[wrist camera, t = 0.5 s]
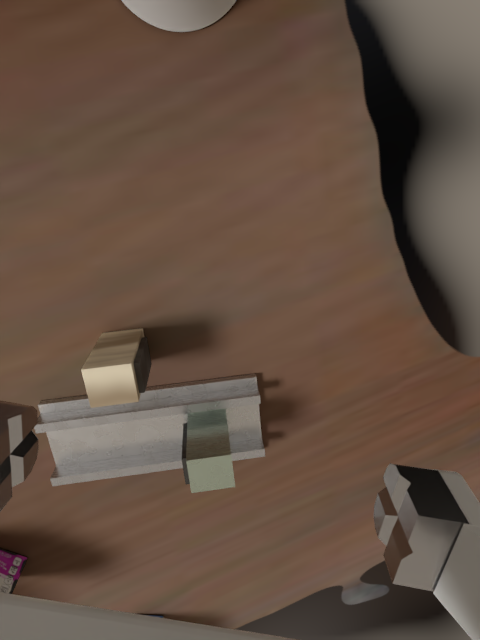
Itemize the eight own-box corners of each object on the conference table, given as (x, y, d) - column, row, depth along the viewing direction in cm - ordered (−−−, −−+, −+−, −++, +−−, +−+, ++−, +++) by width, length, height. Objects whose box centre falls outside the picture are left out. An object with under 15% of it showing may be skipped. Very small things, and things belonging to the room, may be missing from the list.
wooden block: (102, 332, 51) (81, 369, 42) (147, 327, 51) (137, 362, 42) (109, 365, 53) (90, 407, 43) (153, 360, 53) (144, 400, 44)
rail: (40, 400, 53) (3, 456, 43) (255, 373, 55) (269, 420, 45) (62, 475, 58) (34, 542, 47) (261, 447, 59) (275, 506, 49)
